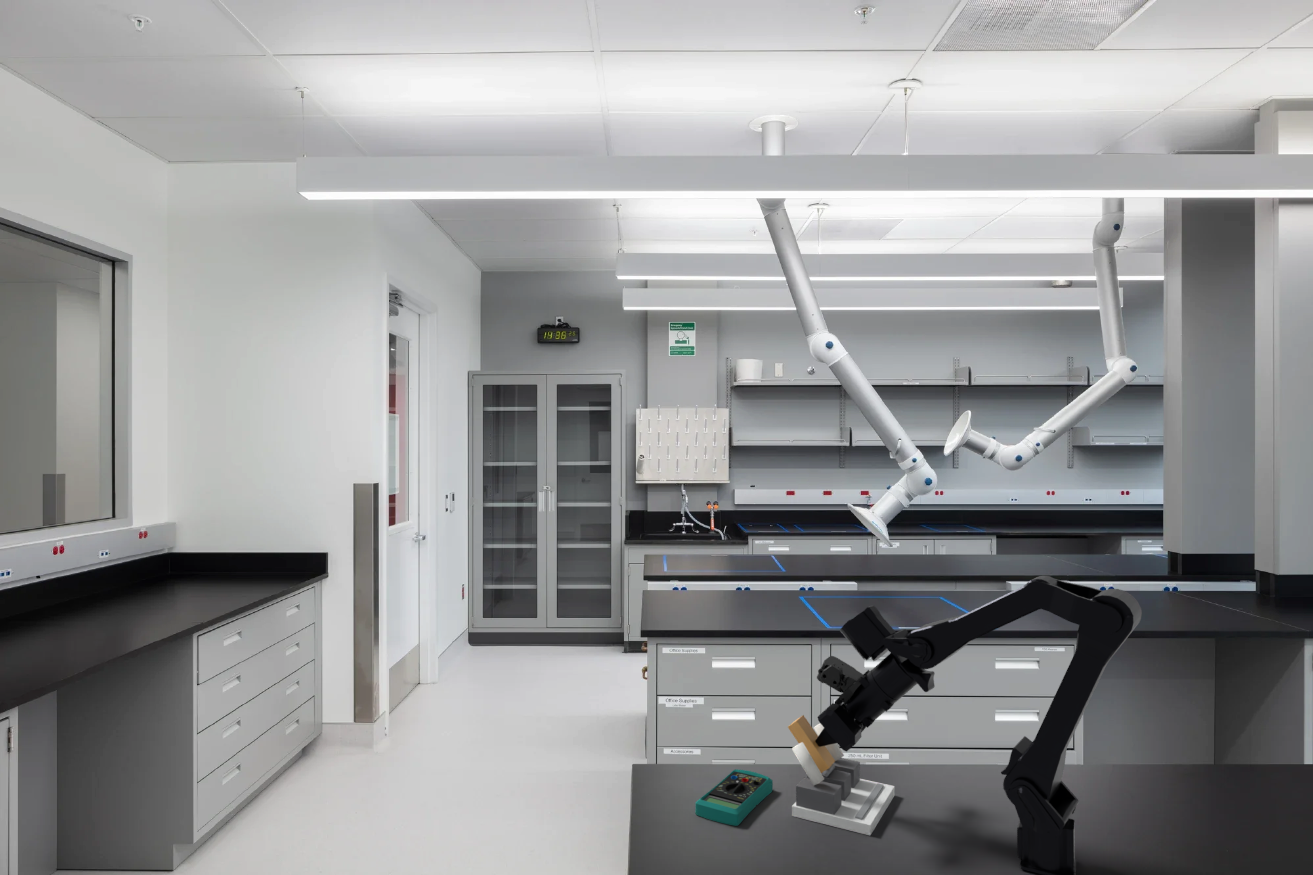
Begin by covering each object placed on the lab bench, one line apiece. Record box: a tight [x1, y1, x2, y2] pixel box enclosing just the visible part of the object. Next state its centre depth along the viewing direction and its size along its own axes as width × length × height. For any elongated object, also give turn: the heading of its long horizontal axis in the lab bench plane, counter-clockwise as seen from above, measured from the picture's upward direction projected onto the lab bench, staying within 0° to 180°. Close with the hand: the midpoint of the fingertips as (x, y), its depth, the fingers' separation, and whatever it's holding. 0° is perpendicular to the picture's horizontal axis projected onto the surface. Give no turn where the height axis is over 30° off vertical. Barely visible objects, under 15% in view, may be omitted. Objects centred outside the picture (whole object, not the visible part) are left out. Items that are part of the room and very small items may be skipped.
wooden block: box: [787, 714, 835, 777], centre depth 125 cm, size 2×4×9 cm
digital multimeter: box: [694, 769, 774, 827], centre depth 124 cm, size 7×15×3 cm, turn 149°
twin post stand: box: [791, 722, 896, 836], centre depth 123 cm, size 13×15×11 cm
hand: (817, 743), depth 125 cm, fingers closed, pressing on wooden block
